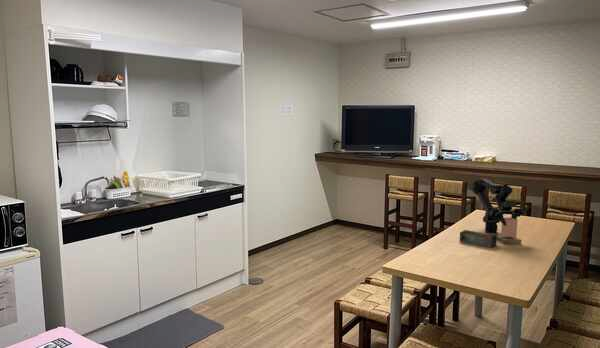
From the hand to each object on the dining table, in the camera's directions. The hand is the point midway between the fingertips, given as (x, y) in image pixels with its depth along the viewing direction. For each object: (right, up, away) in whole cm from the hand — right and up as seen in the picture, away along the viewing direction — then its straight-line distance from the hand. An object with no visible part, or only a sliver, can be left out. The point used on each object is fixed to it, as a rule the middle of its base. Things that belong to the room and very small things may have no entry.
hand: (510, 225), depth 261 cm
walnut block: (0, -10, +3) cm, 11 cm away
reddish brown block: (0, -6, +2) cm, 7 cm away
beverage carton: (-19, -11, 0) cm, 22 cm away
